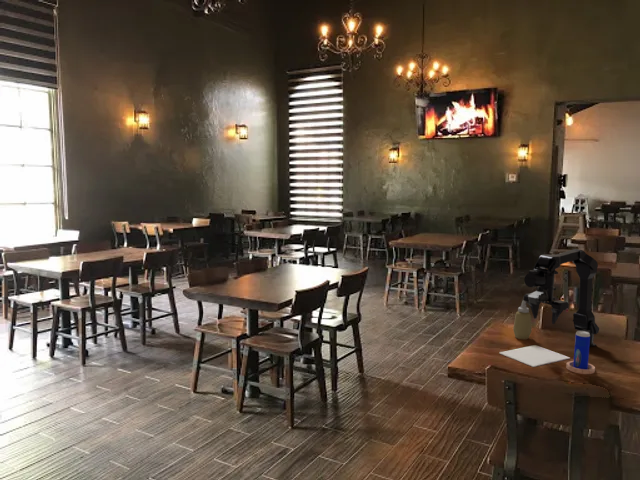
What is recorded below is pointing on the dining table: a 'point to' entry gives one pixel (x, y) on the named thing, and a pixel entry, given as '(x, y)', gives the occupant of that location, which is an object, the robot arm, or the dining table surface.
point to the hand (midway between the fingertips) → (544, 321)
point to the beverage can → (581, 349)
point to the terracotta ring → (581, 371)
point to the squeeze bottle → (522, 322)
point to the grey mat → (534, 355)
